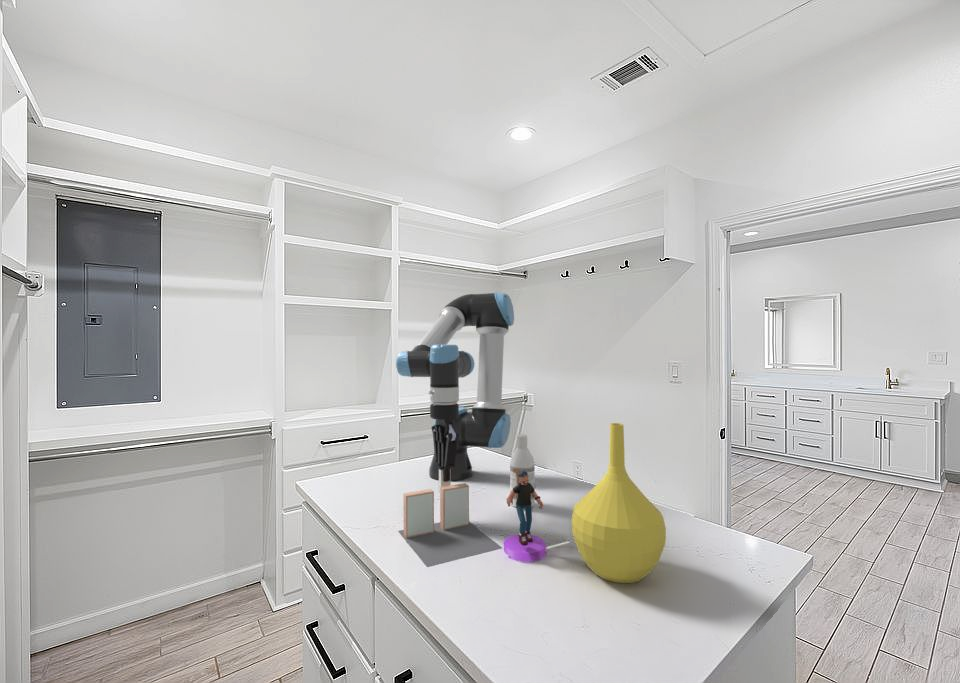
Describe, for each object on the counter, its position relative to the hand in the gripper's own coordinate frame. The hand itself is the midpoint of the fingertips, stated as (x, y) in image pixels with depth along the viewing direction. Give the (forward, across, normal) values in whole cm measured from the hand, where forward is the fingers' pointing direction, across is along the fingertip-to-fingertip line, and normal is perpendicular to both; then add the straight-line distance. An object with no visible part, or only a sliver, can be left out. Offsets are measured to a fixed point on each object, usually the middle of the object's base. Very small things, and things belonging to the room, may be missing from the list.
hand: (444, 492), depth 118 cm
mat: (+7, +12, -4) cm, 14 cm away
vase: (+8, +41, +21) cm, 46 cm away
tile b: (+7, +6, -9) cm, 13 cm away
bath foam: (+7, +1, +24) cm, 25 cm away
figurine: (+7, +25, +9) cm, 27 cm away
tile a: (+7, +6, 0) cm, 9 cm away
